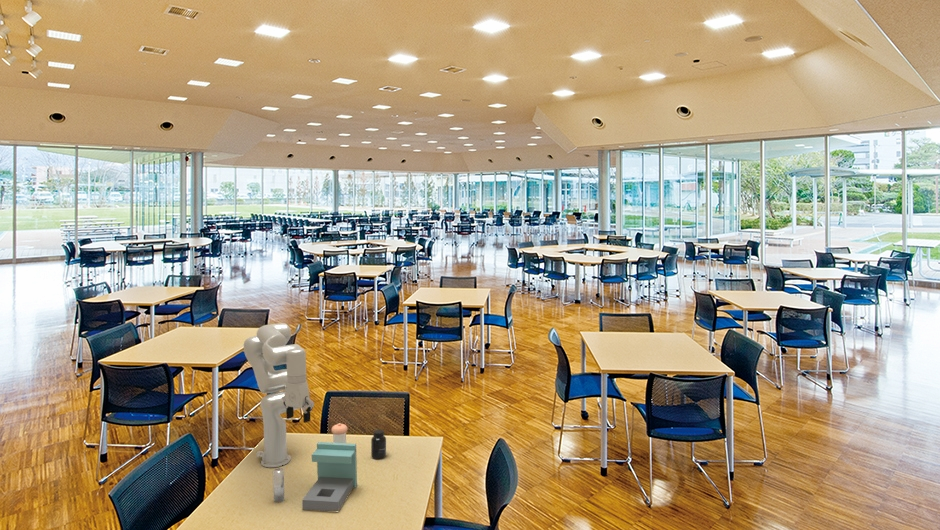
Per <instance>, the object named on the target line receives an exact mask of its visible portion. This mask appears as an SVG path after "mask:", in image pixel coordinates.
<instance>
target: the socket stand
mask: <svg viewBox="0 0 940 530" xmlns="http://www.w3.org/2000/svg"><path fill="white" fill-rule="evenodd" d="M357 461H358V460H357V443H350V442H349V443H347V442H346V443H333V442H327V441H326V442H322V441H318V442H317V443H316V449H315V450H314V452H313V453H312V454H311V462H312V463H316V467H317V471H316V472H317V473H316V474H317V480H316V481H315V482H314V484H313V485H312V486H311V488H310V489H309V490H308V492H307V493H306V494H305V496H304V497H303V498H302V500H301V501H302V503H301V505H302V511H311V510H320V511H319V512H328V511H339V512H340V510H341V508H342V507H343V505H344V504H343V503H345V501H346V500H347V499H346V498H348V497H349V495H350V494H351V492H352V491H353V489H356V488H357V486H358V476H357V475H358V473H357V470H358V469H357V468H358V467H357ZM349 493H350V494H349ZM347 496H348V497H347ZM341 506H342V507H341ZM339 509H340V510H339Z"/></svg>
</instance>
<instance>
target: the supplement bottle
mask: <svg viewBox="0 0 940 530" xmlns="http://www.w3.org/2000/svg"><path fill="white" fill-rule="evenodd" d="M372 435H373V436H372V437H371V441H370V443H371V444H370V445H371V446H370V447H371V449H370V450H371V452H370V454H371V455H370V456H371V458H372V459H375V460H381V459H385V457H386V456H387V437H386V436H385V431H384V430H383V429H375V430H374V431H373V434H372Z"/></svg>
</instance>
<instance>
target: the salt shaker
mask: <svg viewBox="0 0 940 530" xmlns="http://www.w3.org/2000/svg"><path fill="white" fill-rule="evenodd" d="M331 433H332V434H333V439H332V440H333V442H332V443H347V433H348V426H347V425H346V424H344V423H340V422H339V423H337V424H334V425H332V427H331Z"/></svg>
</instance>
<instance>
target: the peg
mask: <svg viewBox="0 0 940 530" xmlns="http://www.w3.org/2000/svg"><path fill="white" fill-rule="evenodd" d="M272 482H273V483H272V486H273V502H274V503H277V504H278V503H283V502H284V501H285V499H286V497H285V495H286V494H285V469H284V468H281V467H279V468H275V469H274V470H273V471H272Z"/></svg>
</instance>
